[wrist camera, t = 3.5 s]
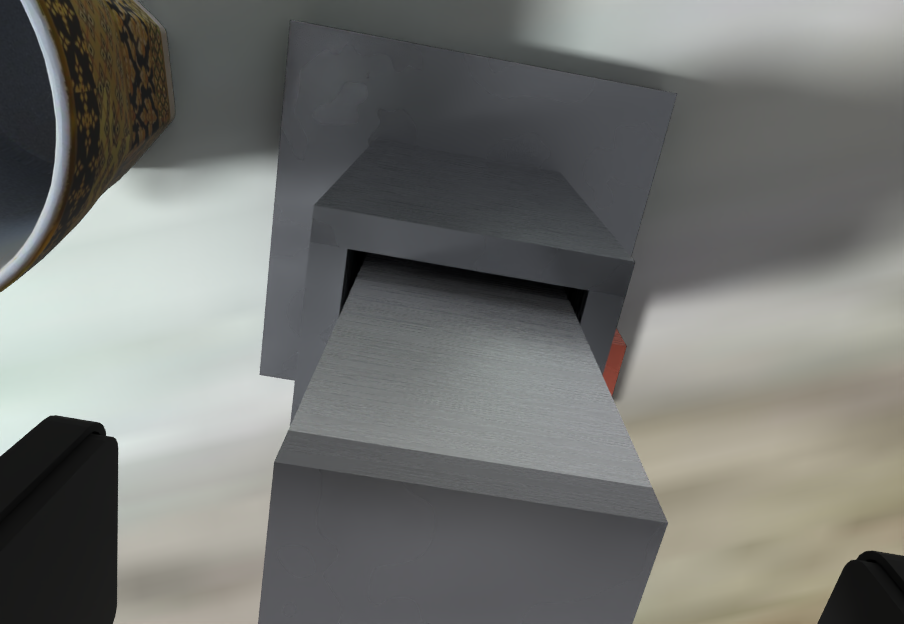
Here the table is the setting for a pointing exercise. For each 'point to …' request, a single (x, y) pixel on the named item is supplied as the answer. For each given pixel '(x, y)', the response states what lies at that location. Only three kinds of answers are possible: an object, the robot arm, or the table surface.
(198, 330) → the table surface
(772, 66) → the table surface
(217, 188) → the table surface
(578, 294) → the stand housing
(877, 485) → the table surface
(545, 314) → the steel post
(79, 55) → the ceramic cup
